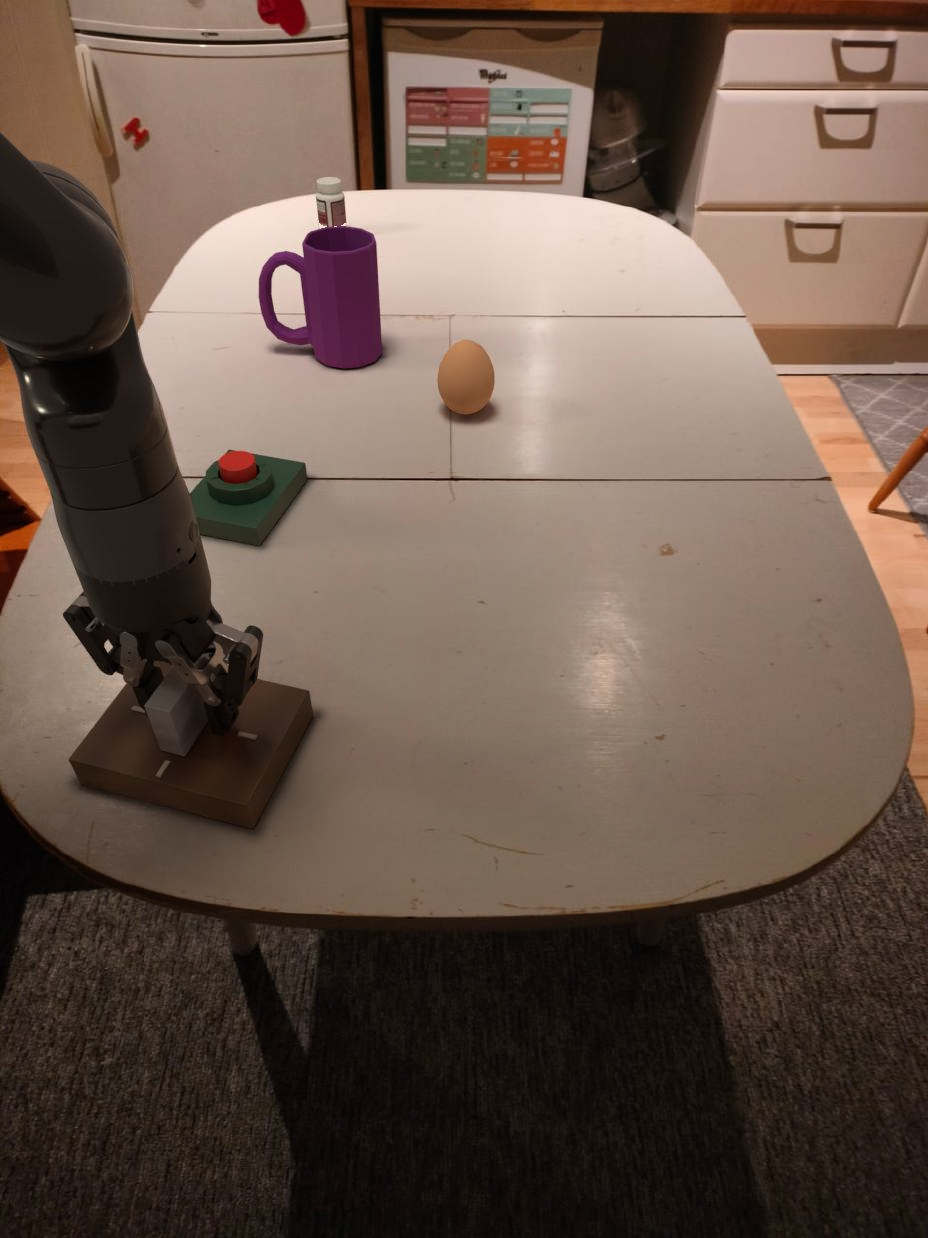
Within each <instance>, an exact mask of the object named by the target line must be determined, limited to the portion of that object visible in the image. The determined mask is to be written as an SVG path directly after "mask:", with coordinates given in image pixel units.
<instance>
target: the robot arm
mask: <svg viewBox="0 0 928 1238" xmlns="http://www.w3.org/2000/svg"><path fill="white" fill-rule="evenodd" d="M131 271H132V270H131V267H130V265H129V261H128V259H127V255H126V252H125V251H124V248H123V245H122V243H121V240H120V238H119V235H118V231H117V229H116V226H115V224H114V222H113V219H112V218H111V216H110V214H109V212H108V210H107V209H106V207H105V205H104V204H103V202H102V201H101V200H100V199H99V197H98V196H97V195H96V194H95V193H94V192H93V190H91V188H89V187H88V186H87V185H86V184H85V183H83V181H81V180H80V179H78V178H77V177H76V176H74V175H73V174H71V173H70V172H68V171H66V170H64V169H62V168H61V167H58V166H56V165H54V164H50V163H47V162H45V161H40V160H34V159H28V158H27V156H26V155H25V154H24V153H23V152H22V151H20V150H19V148H18V147H16V146H15V144H14V143H13V142H11V141H10V139H9V138H8V137H6V135H5V134H4V133H2V132H1V131H0V342H1V343H3V345H4V348H5V350H6V353H7V355H8V357H9V360H10V362H11V365H12V367H13V370H14V373H15V377H16V379H17V384H18V388H19V394H20V401H21V409H22V415H23V419H24V423H25V428H26V432H27V435H28V438H29V441H30V445H31V447H32V450H33V452H34V454H35V457H36V460H37V462H38V465H39V467H40V469H41V473H42V474H43V478H44V479H45V482H46V485H47V487H48V490H49V494H50V497H51V500H52V501H51V502H52V505H53V510H54V511H53V512H54V516H55V519H56V523H57V526H58V529H59V532H60V535H61V538H62V539H63V543H64V545H65V548H66V550H67V552H68V555H69V557H70V560H71V563H72V566H73V568H74V570H75V574H76V575H77V579H78V581H79V583H80V586H81V588H82V590H83V591H82V592H81V593H80V594H79V595H78V596H77V597H76V598H75V600H73V601H72V603H71V604H70V605H69V606H68V607H67V608H66V609H65V610H64V611H63V612H62V616H63V619H64V620H65V622H66V623H67V625H68V627H69V628H70V629H71V631H72V632H73V633H74V635H75V636H76V638H77V639H78V640H79V642H80V643H81V645H82V646H83V648H84V649H85V651H86V652H87V654H88V655H89V656H90V658H91V659H92V661H93V662H94V663H95V665H96V667H97V668H98V669H99V671H101V673H103V674H105V675H107V676H113V675H114V674H115V673H117V674H119V675H121V676H122V680H123V681H124V682H125V684H126V683H127V684H128V685H130V686H132V688H133V690H134V693H135V695H136V698H137V701H138V704H139V705H140V707H141V708H142V709H143V710H144V711H145V714H146V716H147V717H148V715H147V712H146V709H145V707H144V705H145V704H146V703H147V701H148V700H149V699H150V697H151V696H152V694H153V693H154V692H155V690H156V689H157V688H158V686H159V685H160V684H161V682H162V681H163V680H164V677H163V674H162V671H161V668H160V667H157V666H154V664H155V663H156V662H157V661H163V662H166V663H168V664H171V665H173V666H174V668H175V669H176V671H177V672H178V674H179V675H180V676H181V678H182V679H183V681H184V682H185V683H186V684H187V685H194V686H195V687H196V689H197V690H198V692H199V693H200V695H201V696H202V697H203V699H204V700H205V702H204V703H203V704H204V708H205V711H206V714H207V718H208V721H209V724H210V728H211V731H212V733H213V734H215V735H219V736H223V735H224V734H225V733H226V731H229V730H230V729H231V727H232V726H233V724H234V722H235V721H236V719H237V718H238V715H239V710H238V706H240V705H241V704H242V702H243V701H244V699H245V696H246V695H247V693H248V692H249V690H250V688H251V687H252V685H254V683H255V682H256V680H257V679H258V675H259V668H260V661H261V655H262V647H263V641H264V640H263V639H264V632H263V630H262V629H261V628H260V627H258V626H257V625H252V624H251V625H248V626H246V628H245V629H244V631H242V630H239V629H236V628H234V627H232V626H229V625H227V624H225V623H224V619H223V618H222V615H221V614H220V613H219V611H217V609H216V608H215V606H214V605H213V603H212V576H211V572H210V568H209V564H208V560H207V556H206V552H205V549H204V545H203V541H202V536H201V534H200V532H199V528H198V524H197V520H196V516H195V512H194V508H193V504H192V500H191V497H190V490H189V488H188V486H187V483H186V481H185V479H184V477H183V475H182V472H181V470H180V467H179V464H178V460H177V455H176V452H175V448H174V447H175V446H174V443H173V441H172V436H171V433H170V432H171V431H170V428H169V424H168V420H167V418H166V414H165V410H164V407H163V404H162V401H161V399H160V396H159V393H158V392H157V389H156V386H155V384H154V382H153V380H152V377H151V375H150V372H149V370H148V368H147V363H146V361H145V358H144V355H143V351H142V346H141V342H140V341H141V340H140V335H139V333H138V328H137V327H138V326H137V324H136V319H135V315H134V310H133V304H134V283H133V277H132V272H131ZM106 642H109V643H110V645H111V646H112V647H111V648H110V650H107V649H106V648H105V647H106V646H105V644H106ZM193 663H195V664H193ZM212 672H213V674H214V675H215V677H216V678H215V679H214V681H213V682H212V681H211V678H210V676H211V674H212ZM148 718H149V717H148Z"/></svg>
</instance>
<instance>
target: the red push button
mask: <svg viewBox="0 0 928 1238" xmlns="http://www.w3.org/2000/svg"><path fill="white" fill-rule="evenodd" d="M225 453H226V452H225ZM225 453H224V454H222V455H221V456H220V457H219V458H218V460H219V461H218V464H219V469H220V474H221V478H222V480H223V481H224V482H226V483H232V484H239V483H246V482H248V481H250V480H253V479H255V477H256V476H257V468H256V462H255V457H254V456H253V455H252V454H253V453H252V452H250V451H245V450H235V451H233V452H229V453H226V454H225ZM251 453H252V454H251Z"/></svg>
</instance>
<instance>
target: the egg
mask: <svg viewBox="0 0 928 1238" xmlns="http://www.w3.org/2000/svg"><path fill="white" fill-rule="evenodd" d="M436 381H437V390H438V393H439V395H440V397H441V400H442V401H443V403H444V404H445V406H447V408H449V410H452V411H453V412H455V413H457V414H460V415H472V414H474V413H477V412H478V411H480V410H482V409H483V408H484V407H485V406H486V405H487V404H488V402H489V401H490V399H491V398H492V396H493V393H494V389H495V369H494V365H493V363H492V360H491V358H490V355H489V354H488V353H487V351H486V350H485V348H484V347H483V346H482V345H481V344H479V343H477V342H475V341H474V340H470V339H463V340H459V341H457V342H455V343H454V344H452V345H451V346H450V347H449V348H448V349H447V351H446V352H445V354H444V355H443V356H442V359H441V362H440V363H439V366H438V371H437V380H436Z"/></svg>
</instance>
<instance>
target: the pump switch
mask: <svg viewBox="0 0 928 1238" xmlns="http://www.w3.org/2000/svg"><path fill="white" fill-rule="evenodd" d="M233 451H236V450H235V449H228V450H226V452H225V453H224V454H226V453H229V452H233ZM250 453H251V454H252V455H253V456H254V457H255V462H256V468H257V476H256V477H255V479H253V480H250V481H248V482H246V483H239V484H232V483H226V482H224V481H223V480H222V478H221V474H220V469H219V464H218V461H219V459H218V460H215V461H213V462H212V463H211V465H209V467H208V468H207V469H206V470H205V475H204V476H203V478H202V479H201V480H199V482H198V484H196V485H195V487H194V488H193V489H192V490H191V492H189V494H190V497H191V500H192V504H193V508H194V512H195V516H196V520H197V524H198V528H199V532H200V535H203V536H207V537H212V538H217V539H222V540H227V541H233V542H238V543H244V544H247V545H253V546H261V545H262V543H263V542H264V541H265V540H266V538H267V536H268V535H269V534H270V532H271V531H272V529H273V528H274V527H275V525H276V524H277V523H278V521H279V520H280V518H281V517H282V516H283V514H284V513H285V511H286V510H287V509H288V507H289V506H290V505H291V503H292V502H293V500H294V499H295V498H296V497H297V495H298V494H299V492H300V491H301V489H302V488H303V487H304V486H305V484H306V483H307V482H308V471H307V465H306V462H303V461H298V460H291V459H286V458H280V457H274V456H269V455H264V454H257V453H252V452H250Z"/></svg>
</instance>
